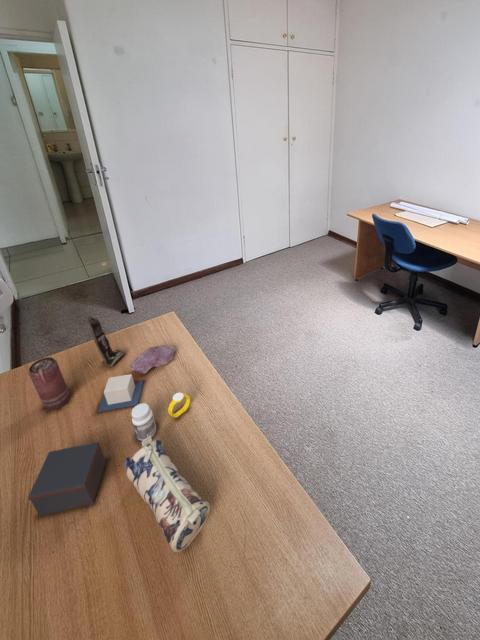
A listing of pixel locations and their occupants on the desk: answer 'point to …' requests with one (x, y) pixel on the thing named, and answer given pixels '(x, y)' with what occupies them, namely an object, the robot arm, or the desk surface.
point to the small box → (119, 389)
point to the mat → (133, 402)
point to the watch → (176, 399)
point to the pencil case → (167, 494)
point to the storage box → (68, 479)
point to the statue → (104, 344)
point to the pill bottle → (143, 421)
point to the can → (49, 383)
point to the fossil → (152, 358)
